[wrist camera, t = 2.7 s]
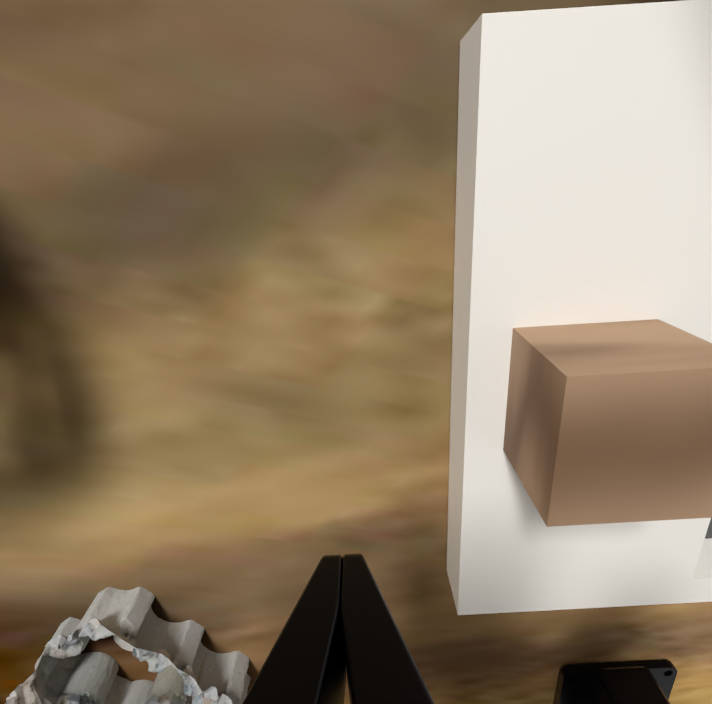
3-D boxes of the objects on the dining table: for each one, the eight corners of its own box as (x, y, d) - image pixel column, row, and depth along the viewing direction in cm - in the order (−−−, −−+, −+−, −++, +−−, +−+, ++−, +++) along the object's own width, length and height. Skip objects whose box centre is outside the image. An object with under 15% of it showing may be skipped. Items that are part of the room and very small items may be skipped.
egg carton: (43, 625, 24) (-16, 709, 20) (133, 561, 22) (89, 639, 19) (184, 717, 27) (157, 805, 23) (273, 666, 26) (260, 752, 22)
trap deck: (795, 550, 22) (847, 594, 20) (446, 570, 22) (457, 615, 20) (1024, 4, 14) (1160, -32, 11) (460, 41, 14) (482, 13, 12)
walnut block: (632, 442, 17) (713, 517, 13) (502, 449, 17) (546, 526, 13) (658, 319, 15) (760, 365, 11) (512, 327, 15) (567, 376, 11)
